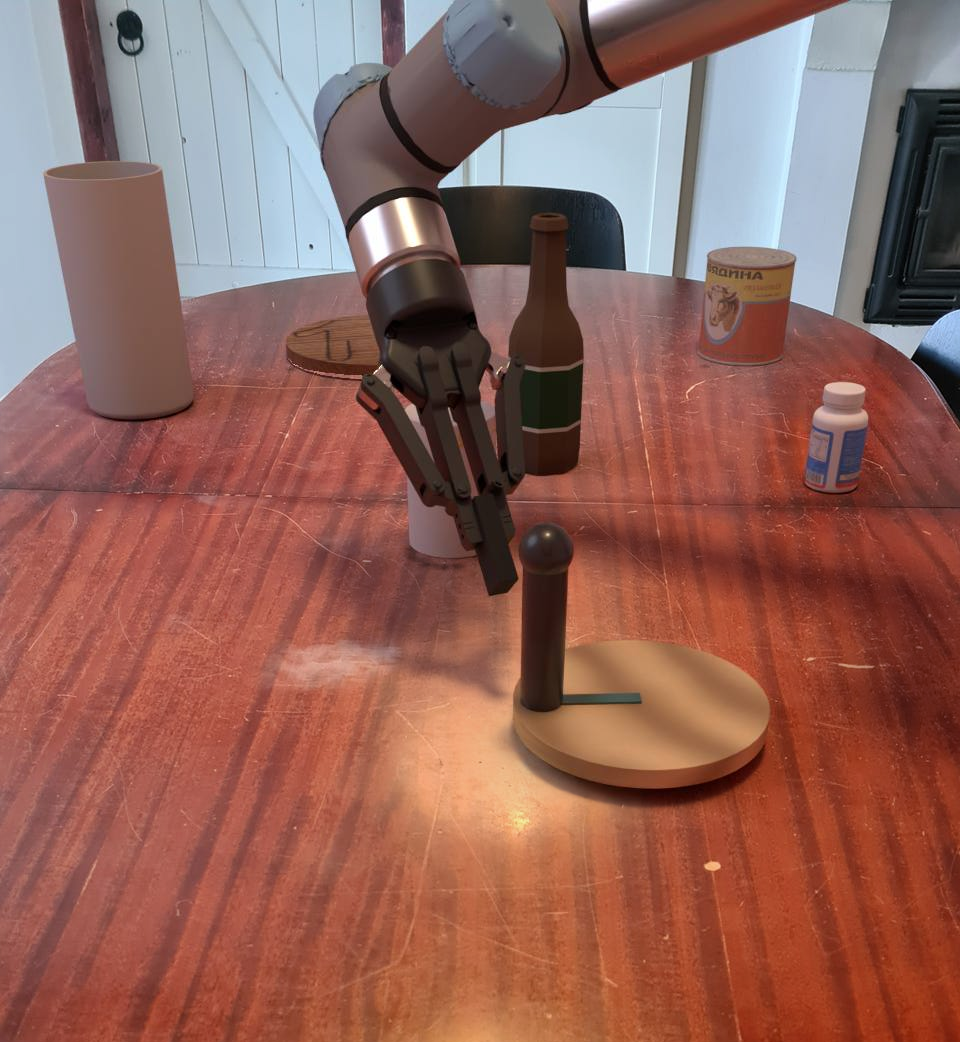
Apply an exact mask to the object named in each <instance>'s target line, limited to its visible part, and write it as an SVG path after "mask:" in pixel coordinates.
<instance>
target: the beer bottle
mask: <svg viewBox="0 0 960 1042" xmlns="http://www.w3.org/2000/svg"><path fill="white" fill-rule="evenodd" d="M529 228H530V229H531V230H532V234H531V235H532V236H531V249H530V250H531V251H530V264H529V276H528V289H527V294H526V298H525V299H526V300H525V303H524V306H523V307H522V309H521V310H520V312H519V314H518V315H517V317H516V318H515V319H514V323H513V325H512V328H511V331H510V334H509V337H508V348H507V359H509V360H510V359H511V358H512V357H513V356H514V355H519V356H521V357H523V358H524V359H525V362H526V366H525V369H524V373H523V376H522V379H521V382H520V400H521V416H522V431H523V447H524V462H525V474H530V475H535V476H545V475H547V476H548V475H559V474H565V473H566V472H568V471H570V470H571V469H573V468H574V467H576V466H577V465H578V463H579V458H580V450H581V449H580V447H581V428H582V426H581V425H582V408H583V407H582V406H583V388H584V387H583V386H584V385H583V383H584V382H583V381H584V365H585V364H584V363H585V362H584V361H585V357H584V355H585V354H584V338H583V334H582V330H581V328H580V323H579V321H578V320H577V317H576V316H575V315H574V312H573V311H572V309H571V308H570V304H569V298H568V290H567V289H568V287H567V286H568V285H567V281H568V280H567V243H566V241H567V239H566V238H567V237H566V236H567V235H566V231H568V229H570V226H569V221H568V217H567V216H566V215H564V214H561V213H558V212H540V213H538V214H535V215H533V216H532V217H531V220H530V223H529Z"/></svg>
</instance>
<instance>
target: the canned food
mask: <svg viewBox="0 0 960 1042" xmlns="http://www.w3.org/2000/svg"><path fill="white" fill-rule="evenodd" d="M706 259H707V260H706V270H705V281H704V290H703V300H702V310H701V322H700V331H699V339H698V348H697V355H698V356H699V357H701V358H703V359H704V360H707V361H710V362H711V363H717V364H722V365H728V366H741V367H753V366H755V367H756V366H764V365H770V364H773V363H776V362H778V361H780V360H782V359H783V357H784V347H785V339H786V332H787V325H788V318H789V311H790V303H791V296H792V289H793V281H794V274H795V266H796V262H797V256H796V255H795V254H794V253H792V252H789V251H786V250H784V249H783V250H782V249H778V248H777V249H776V248H772V247H763V246H762V247H761V246H728V247H721V248H716V249H713V250H711V251H709V252H708V253H707V255H706Z"/></svg>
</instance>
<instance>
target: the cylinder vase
mask: <svg viewBox="0 0 960 1042" xmlns="http://www.w3.org/2000/svg"><path fill="white" fill-rule="evenodd" d="M42 176H43V180H44V186H45V190H46V191H45V192H46V196H47V201H48V206H49V212H50V217H51V221H52V227H53V232H54V237H55V243H56V247H57V252H58V258H59V263H60V267H61V273H62V279H63V284H64V289H65V295H66V299H67V304H68V305H67V306H68V309H69V314H70V319H71V325H72V331H73V335H74V341H75V345H76V351H77V356H78V361H79V367H80V371H81V377H82V382H83V387H84V392H85V397H86V403H87V405H88V407H89V409H90V410H91V411H92V412H93V413H95V414H97V415H99V416H101V417H104V418H107V419H108V418H109V419H114V420H125V421H127V420H128V421H137V420H138V421H139V420H150V419H157V418H163V417H166V416H170V415H173V414H176V413H179V412H181V411H183V410H184V409H186V408H188V407H189V406H190V405H191V404H192V402H193V401H194V398H195V392H194V386H193V385H194V384H193V379H192V378H193V377H192V371H191V365H190V357H189V349H188V343H187V336H186V328H185V322H184V315H183V307H182V300H181V293H180V286H179V279H178V272H177V266H176V258H175V249H174V243H173V237H172V229H171V222H170V216H169V215H170V214H169V208H168V201H167V194H166V187H165V180H164V172H163V167H162V166H161V165H159V164H156V163H151V162H144V161H143V162H142V161H132V160H131V161H129V160H128V161H127V160H108V161H105V160H103V161H88V162H79V163H78V162H77V163H70V164H64V165H58V166H54V167H50V168H48V169H46V170H44V171H43V172H42Z"/></svg>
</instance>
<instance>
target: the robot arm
mask: <svg viewBox="0 0 960 1042" xmlns="http://www.w3.org/2000/svg"><path fill="white" fill-rule="evenodd" d="M850 1H851V0H453V3H451V4H450V5H449V7H448V8H447V10H446V12H445V13H444V14H443V15H442V16H441V17H440V18H439V19H438V20H437V21H436V22H435V23H434V25H433V26H431V28H430V29H428V30H427V32H426V33H425V34H424V35H423V36H422V37H421V38H420V39H419V40H418V41H417V42H416V43H415V45H414V46H413V47H412V48H411V49H410V50H409V51H408V52H407V53H406V54H405V55H404V56H403V57H402V58H401V60H399V61H398V62H397V64H396V65H395V66H394V67H393V68H392V67H390V66H389V65H386V64H383V63H379V62H362V63H361V62H360V63H357V64H353V65H351V66H350V67H349V69H348V71H346V72H345V73H335V74H334V75H333V76H332V77H330V78H329V79H328V80H327V81H326V82H325V83H324V84H323V85H322V86H321V88H320V90H319V92H318V94H317V96H316V98H315V100H314V106H313V112H312V113H313V114H312V115H313V116H312V117H313V123H314V124H313V125H314V129H315V134H316V138H317V143H318V149H319V152H320V153H319V158H320V162H321V166H322V169H323V171H324V172H325V176H326V177H327V180H328V183H329V186H330V190H331V192H332V195H333V199H334V201H335V204H336V207H337V210H338V213H339V215H340V218H341V221H342V224H343V228H344V232H345V239H346V242H347V246H348V247H349V249H348V250H349V252H350V256H351V259H352V263H353V266H354V269H355V273H356V276H357V280H358V283H359V286H360V287H359V288H360V289H361V294H362V296H363V297H364V298H365V308H366V312H367V315H369V318H370V322H371V325H372V329H373V332H374V335H375V339H376V342H377V345H378V347H379V350H380V357H379V361H378V369H377V370H376V371H375V372H374V373H373V374H372V373H366V374H365V375H364V376H363V377H362V380H360V384H359V385H358V386H359V387H358V388H357V392H356V394H355V400H356V402H357V404H358V405H360V407H362V408H363V409H364V410H365V411H366V412H367V413H368V414H369V415H370V416H371V417H372V418H373V419H374V420H375V421H376V422H377V425H378V426H379V428H380V429H381V431H382V433H383V435H384V437H385V438H386V440H387V443H388V444H389V445H390V448H391V450H392V451H393V453H394V455H395V456H396V458H397V460H398V462H399V464H400V466H401V467H402V469H403V471H404V472H405V475H406V477H407V476H408V478H409V480H410V481H411V483H412V485H413V487H414V489H415V490H416V492H417V494H418V496H419V498H420V499H421V501H422V503H423V504H424V505H425V506H427V507H434V506H435V505H437V506H443V507H446V508H445V512H446V513H447V514H448V515H449V516H453V518H454V521H455V525H456V528H457V531H458V535H459V537H460V542H461V545H462V546H463V548H464V549H465V551H471V550H475V552H476V555H475V556H476V559H477V562H478V565H479V569H480V571H481V574H482V579H483V581H484V585H485V588H486V592H487V596H488V597H493V596H499V595H504V594H508V593H509V592H510V591H511V589H512V588H513V587H515V585H516V583H517V582H518V581H519V580H520V578H519V575H518V570H517V569H516V568H517V567H516V564H515V561H514V557H513V554H512V551H511V548H510V544H511V542H512V541H513V540H514V538H515V537H516V526H515V522H514V519H513V517H512V513H511V510H510V506H509V503H508V499H507V496H511V495H513V494H514V493H515V491H516V490H517V488H518V487H519V485H520V484H521V483H522V481H523V480H524V478H525V476H526V473H525V462H524V447H523V431H522V416H521V400H520V382H521V379H522V376H523V373H524V369H525V366H526V362H525V359H524V358H523V357H521V356H519V355H514V356H513V357H512V358H511V359H510V360H509V359H508V357H504V356H502V355H500V354H498V353H495V352H493V351H492V346H491V344H490V342H489V340H488V339H487V338H486V337H485V336H484V334H483V333H482V332H481V330H480V328H479V324H478V318H477V314H476V310H475V306H474V303H473V300H472V297H471V296H472V295H471V293H470V290H469V287H468V283H467V280H466V277H465V273H464V271H463V270H462V269H461V260H460V256H459V254H458V249H457V247H456V244H455V241H454V237H453V234H452V231H451V227H450V224H449V220H448V219H447V215H446V212H445V208H444V203H443V199H442V197H441V192H440V189H439V185H440V183H441V182H442V181H443V180H444V179H445V178H446V177H447V176H448V175H449V174H450V173H452V172H453V171H455V170H456V169H457V168H458V167H460V165H461V164H462V163H463V162H464V161H465V160H466V159H467V158H468V157H470V156H471V155H472V154H473V153H474V152H475V151H477V150H478V149H479V148H481V146H482V145H483V144H485V143H486V142H487V141H488V140H489V139H490V138H491V137H493V136H495V134H497V133H499V132H500V131H504V130H506V129H510V128H514V127H518V126H521V125H524V124H527V123H531V122H535V121H538V120H540V119H544V118H548V117H551V116H555V115H559V116H562V115H566V114H567V115H568V114H570V113H573V112H576V111H579V110H582V109H584V108H586V107H588V106H590V105H591V104H592V103H593V102H595V101H597V100H599V99H601V98H604V97H607V96H609V95H612V94H614V93H615V94H616V93H617V92H618V91H620V90H623V89H626V88H628V87H631V86H633V85H636V84H638V83H641V82H643V81H646V80H648V79H651V78H654V77H656V76H659V75H661V74H664V73H666V72H670V71H673V70H674V69H678V68H680V67H682V66H685V65H688V64H690V63H692V62H695V61H697V60H700V59H703V58H706V57H708V56H710V55H713V54H716V53H719V52H721V51H723V50H726V49H729V48H731V47H734V46H737V45H739V44H742V43H745V42H747V41H749V40H752V39H756V38H758V37H759V36H762V35H765V34H768V33H770V32H773V31H776V30H778V29H781V28H784V27H786V26H788V25H791V24H793V23H796V22H798V21H801V20H805V19H807V18H809V17H812V16H814V15H817V14H819V13H822V12H824V11H827V10H830V9H833V8H835V7H838V6H840V5H842V4H845V3H848V2H850ZM486 372H487V373H488V374H489V382H490V385H491V386H490V387H491V389H492V390H494V391H495V394H494V407H495V420H496V453H495V449H494V446H493V443H492V439H491V436H490V433H489V430H488V426H487V423H486V420H485V416H484V413H483V410H482V407H481V400H482V394H481V390H480V385H481V384H482V380H483V377H484V375H485V373H486ZM395 390H396V391H397V392H399V394H400V395H402V397H404V398H405V399H406V400H407V401H409V402H410V404H413V405H415V407H416V410H417V414H418V417H419V420H420V424H421V426H422V427H424V429H425V432H426V435H427V439H428V442H429V446H430V449H431V452H432V456H433V459H434V462H433V460H432V458H431V456H430V454H429V453H428V451H427V449H426V447H425V445H424V444H423V442H422V440H421V438H420V437H419V435H418V433H417V431H416V429H415V428H414V426H413V424H412V422H411V420H410V419H409V417H408V415H407V413H406V412H405V408H404V406H403V404H402V403H401V401H400V400H399V398H398V396H397V395H396V394H395ZM448 408H450V412H451V415H452V418H453V421H454V422H456V423H457V426H458V429H459V432H460V436H461V439H462V442H463V446H464V449H465V452H466V455H467V459H468V462H469V465H470V469H471V472H472V475H473V479H474V482H475V485H476V489H477V492H478V495H479V496H474V497H473V499H472V498H471V492H472V490H471V485H470V482H469V479H468V475H467V472H466V469H465V465H464V462H463V458H462V455H461V452H460V448H459V445H458V441H457V438H456V435H455V431H454V428H453V425H452V421H451V418H450V414H449V411H448Z"/></svg>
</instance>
